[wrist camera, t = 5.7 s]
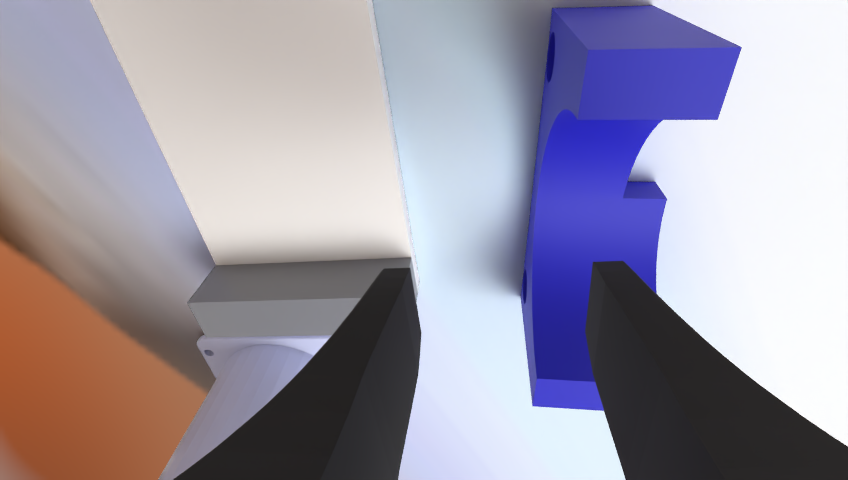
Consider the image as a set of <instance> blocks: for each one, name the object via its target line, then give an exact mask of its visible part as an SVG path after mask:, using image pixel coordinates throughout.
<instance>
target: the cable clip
mask: <svg viewBox="0 0 848 480" xmlns="http://www.w3.org/2000/svg"><path fill="white" fill-rule="evenodd" d="M741 48H742V47H740V46H738V45H736V44H734V43H732V42H729V41H727V40H725V39H723V38H721V37H719V36H717V35H714V34H712V33H710V32H708V31H706V30H704V29H702V28H700V27H697V26H695V25H693V24H691V23H689V22H687V21H685V20H682V19H680V18H678V17H676V16H674V15H672V14H670V13H668V12H665V11H663V10H661V9H659V8H657V7H655V6H617V7H579V8H552V16H551V25H550V34H549V44H548V53H547V62H546V71H545V80H544V89H543V98H542V108H541V117H540V126H539V135H538V144H537V153H536V163H535V172H534V181H533V190H532V199H531V208H530V218H529V227H528V236H527V245H526V254H525V263H524V273H523V282H522V291H521V304H522V313H523V322H524V331H525V341H526V350H527V359H528V368H529V377H530V387H531V396H532V405H533V406H538V407H554V408H570V409H586V410H602V411H604V409H603V405H602V402H601V399H600V396H599V393H598V389H597V386H596V383H595V379H594V376H593V372H592V367H591V362H590V356H589V351H588V345H587V339H586V334H585V328H586V319H587V310H588V301H589V292H590V283H591V274H592V265H593V262H601V261H624V262H625V263H626V264H627V265H628V266H629V267H630V268H631V269H632V270H633V271H634V272H635V273H636V274H637V275H638V276H639V277H640V278H641V279H642V280H643V281H644V282H645V283H646V284H647V285H648V286H649V287H650V288H651V289H652V290H653V291H654V292H655V293H656V261H657V248H658V239H659V232H660V227H661V221H662V216H663V212H664V208H665V204H666V201H667V198H666V197H665V195H664V194H663V193H662V191H661V190H660V188H659V187H658V185H657V184H656V182H627V181H628V178H629V175H630V172H631V169H632V167H633V165H634V162H635V160H636V157H637V155H638V153H639V151H640V149H641V147H642V146H643V144H644V142H645V141H646V139H647V137H648V136H649V135H650V133H651V132H652V131H653V129H654V128H655V127H656V126H657V125H658V124H659V123H660V122H661V121H662V120H718V117H719V114H720V111H721V108H722V105H723V102H724V99H725V96H726V93H727V90H728V87H729V84H730V81H731V78H732V75H733V72H734V69H735V66H736V63H737V60H738V57H739V54H740V51H741Z"/></svg>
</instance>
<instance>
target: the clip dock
mask: <svg viewBox="0 0 848 480" xmlns="http://www.w3.org/2000/svg"><path fill="white" fill-rule="evenodd" d="M90 2H91V4H92V6H93V8H94V10H95V12H96V14H97V16H98V19H99V21H100V23H101V25H102V27H103V29H104V31H105V33H106V35H107V37H108V40H109V42H110V44H111V46H112V48H113V50H114V52H115V54H116V56H117V58H118V61H119V63H120V65H121V67H122V69H123V71H124V73H125V75H126V77H127V79H128V82H129V84H130V86H131V88H132V90H133V92H134V94H135V96H136V98H137V100H138V103H139V105H140V107H141V109H142V111H143V113H144V115H145V117H146V119H147V121H148V124H149V126H150V128H151V130H152V132H153V134H154V136H155V138H156V140H157V143H158V145H159V147H160V149H161V151H162V153H163V155H164V157H165V159H166V161H167V164H168V166H169V168H170V170H171V172H172V174H173V176H174V178H175V180H176V182H177V185H178V187H179V189H180V191H181V193H182V195H183V197H184V199H185V201H186V203H187V206H188V208H189V210H190V212H191V214H192V216H193V218H194V220H195V222H196V224H197V227H198V229H199V231H200V233H201V235H202V237H203V239H204V241H205V243H206V245H207V248H208V250H209V252H210V254H211V256H212V258H213V260H214V262H215V264H216V266H215V267H214V269H213V270H212V271H211V273H210V274H209V275H208V276H207V278H206V279H205V280H204V282H203V283H202V284H201V285H200V287H199V288H198V289H197V291H196V292H195V293H194V295H193V296H192V297H191V298H190V300H189V301H188V302H187V304H188V306H189V307H190V309H191V311H192V313H193V315H194V316H195V318H196V320H197V322H198V324H199V325H200V327H201V329H202V331H203V333H204V334H205V336H206V337H267V336H330V335H333V333H334V332H335V331H336V330H337V328H338V327H339V326H340V325H341V323H342V322H343V321H344V320H345V318H346V317H347V316H348V315H349V313H350V312H351V311H352V310H353V308H354V307H355V306H356V304H357V303H358V302H359V300H360V299H361V298H362V296H363V295H364V294H365V292H366V291H367V290H368V288H369V287H370V285H371V284H372V283H373V281H374V280H375V279H376V277H377V276H378V274H379V273H380V272H381V271H382V270H383V269H384V268H410V269H411V275H412V281H413V287H414V293H415V299H416V300H417V294H418V289H419V283H420V281H419V275H418V269H417V263H416V257H415V251H414V245H413V239H412V233H411V227H410V221H409V215H408V210H407V204H406V198H405V192H404V186H403V180H402V174H401V168H400V162H399V156H398V150H397V144H396V138H395V132H394V127H393V121H392V115H391V109H390V103H389V97H388V91H387V85H386V79H385V73H384V67H383V61H382V55H381V49H380V43H379V38H378V32H377V26H376V20H375V14H374V8H373V2H372V0H90Z"/></svg>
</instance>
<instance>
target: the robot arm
mask: <svg viewBox="0 0 848 480" xmlns="http://www.w3.org/2000/svg"><path fill="white" fill-rule="evenodd" d="M585 334H586V339H587V345H588V351H589V356H590V362H591V367H592V372H593V376H594V379H595V383H596V386H597V389H598V393H599V396H600V399H601V402H602V405H603V409H604V412H605V415H606V418H607V421H608V424H609V428H610V431H611V434H612V437H613V440H614V443H615V447H616V450H617V453H618V456H619V459H620V462H621V466H622V469H623V472H624V475H625V479H626V480H848V447H847V446H846V445H844V444H843V443H841V442H840V441H838V440H837V439H835V438H834V437H832V436H830V435H829V434H827V433H826V432H825V431H823V430H822V429H820V428H819V427H817V426H816V425H814V424H813V423H811V422H810V421H808V420H807V419H806V418H804V417H803V416H801V415H800V414H799V413H797V412H796V411H794V410H793V409H792V408H790V407H789V406H788V405H786V404H785V403H783V402H782V401H781V400H779V399H778V398H777V397H775V396H774V395H773V394H771V393H770V392H768V391H767V390H766V389H764V388H763V387H762V386H760V385H759V384H758V383H756V382H755V381H754V380H753V379H751V378H750V377H749V376H747V375H746V374H745V373H744V372H742V371H741V370H740V369H739V368H738V367H736V366H735V365H734V364H733V363H732V362H730V361H729V360H728V359H727V358H726V357H724V356H723V355H722V354H721V353H720V352H718V351H717V350H716V349H715V348H714V347H713V346H711V345H710V344H709V343H708V342H707V341H706V340H705V339H703V338H702V337H701V336H700V335H699V334H698V333H697V332H696V331H695V330H694V329H693V328H692V327H690V326H689V325H688V324H687V323H686V322H685V321H684V320H683V319H682V318H681V317H680V316H679V315H677V314H676V313H675V312H674V311H673V310H672V309H671V308H670V307H669V306H668V305H667V304H666V303H665V302H664V301H663V300H662V299H661V298H660V297H659V296H658V295H657V294H656V293H655V292H654V291H653V290H652V289H651V288H650V287H649V286H648V285H647V284H646V283H645V282H644V281H643V280H642V279H641V278H640V277H639V276H638V275H637V274H636V273H635V272H634V271H633V270H632V269H631V268H630V267H629V266H628V265H627V264H626V263H625V262H624V261H601V262H593V265H592V274H591V283H590V292H589V301H588V310H587V319H586V328H585ZM196 344H197V346H198V348H199V350H200V352H201V353H202V355H203V357H204V359H205V360H206V362H207V364H208V366H209V367H210V369H211V371H212V372H213V374H214V376H215V378H216V381H215V382H214V384H213V386H212V388H211V389H210V391H209V393H208V394H207V396H206V398H205V400H204V401H203V403H202V405H201V407H200V408H199V410H198V412H197V413H196V415H195V417H194V419H193V421H192V422H191V424H190V426H189V427H188V429H187V431H186V433H185V434H184V436H183V438H182V440H181V441H180V443H179V445H178V446H177V448H176V450H175V451H174V453H173V455H172V457H171V458H170V460H169V462H168V464H167V466H166V467H165V469H164V471H163V472H162V474H161V476H160V477H159V479H158V480H398V476H399V469H400V464H401V459H402V454H403V449H404V444H405V439H406V434H407V429H408V424H409V419H410V414H411V409H412V403H413V398H414V393H415V388H416V383H417V377H418V370H419V358H420V344H421V329H420V323H419V317H418V311H417V305H416V299H415V293H414V287H413V281H412V275H411V269H410V268H384V269H383V270H382V271H381V272H380V273H379V274H378V276H377V277H376V279H375V280H374V281H373V283H372V284H371V285H370V287H369V288H368V290H367V291H366V292H365V294H364V295H363V296H362V298H361V299H360V300H359V302H358V303H357V304H356V306H355V307H354V308H353V310H352V311H351V312H350V313H349V315H348V316H347V317H346V318H345V320H344V321H343V322H342V323H341V325H340V326H339V327H338V328H337V330H336V331H335V332H334V333H333V335H330V336H267V337H206V336H205V335H203V336H201V337H200V338H199V339H198V341H197V343H196Z"/></svg>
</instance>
